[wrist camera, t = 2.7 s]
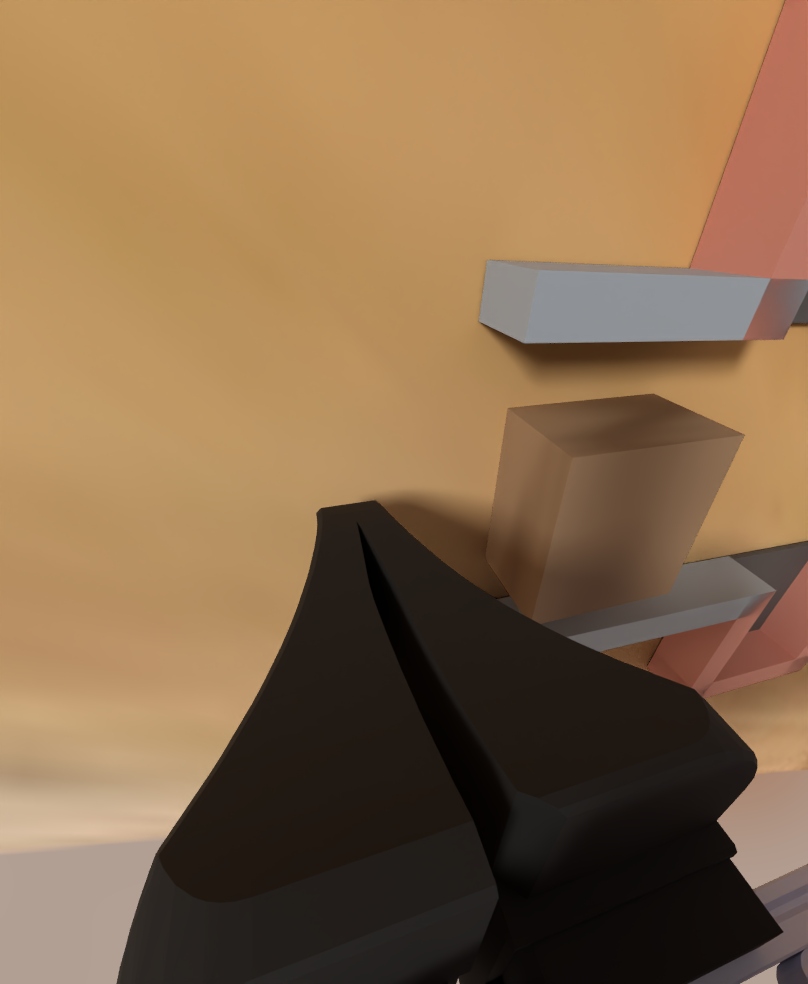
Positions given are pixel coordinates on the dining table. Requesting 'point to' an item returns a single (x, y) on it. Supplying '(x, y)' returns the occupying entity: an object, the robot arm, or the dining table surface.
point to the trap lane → (702, 317)
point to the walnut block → (601, 500)
